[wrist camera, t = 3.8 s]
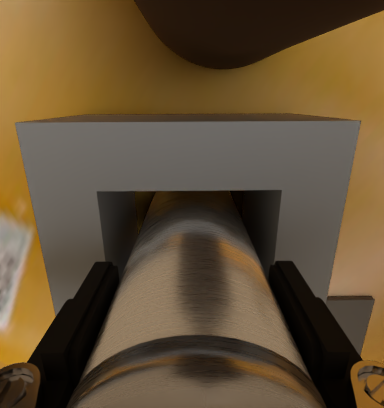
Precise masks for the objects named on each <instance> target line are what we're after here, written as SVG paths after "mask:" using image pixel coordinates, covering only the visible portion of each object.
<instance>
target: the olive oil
mask: <svg viewBox="0 0 384 408" xmlns="http://www.w3.org/2000/svg"><path fill="white" fill-rule="evenodd" d="M134 1H135V3H136V4H137V6H138V8H139V9H140V11H141V12H142V14H143V16H144V17H145V19H146V20H147V22H148V24H149V25H150V27H151V28H152V29H153V31H154V32H155V33H156V35H157V36H158V37H159V38H160V39H161V40H162V42H163V43H164V44H165V45H166V46H168V47H169V48H170V49H171V50H172V51H173V52H175V53H176V54H178V55H179V56H181V57H182V58H184V59H186V60H188V61H190V62H192V63H195V64H197V65H200V66H204V67H208V68H215V69H231V68H238V67H243V66H246V65H249V64H252V63H255V62H257V61H260V60H262V59H264V58H266V57H268V56H271V55H273V54H275V53H277V52H279V51H281V50H284V49H286V48H288V47H291V46H293V45H296V44H298V43H301V42H303V41H306V40H308V39H311V38H314V37H316V36H319V35H321V34H324V33H326V32H329V31H331V30H334V29H336V28H339V27H341V26H344V25H347V24H349V23H352V22H354V21H357V20H359V19H362V18H365V17H367V16H370V15H373V14H375V13H378V12H380V11H383V10H384V0H134Z"/></svg>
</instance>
